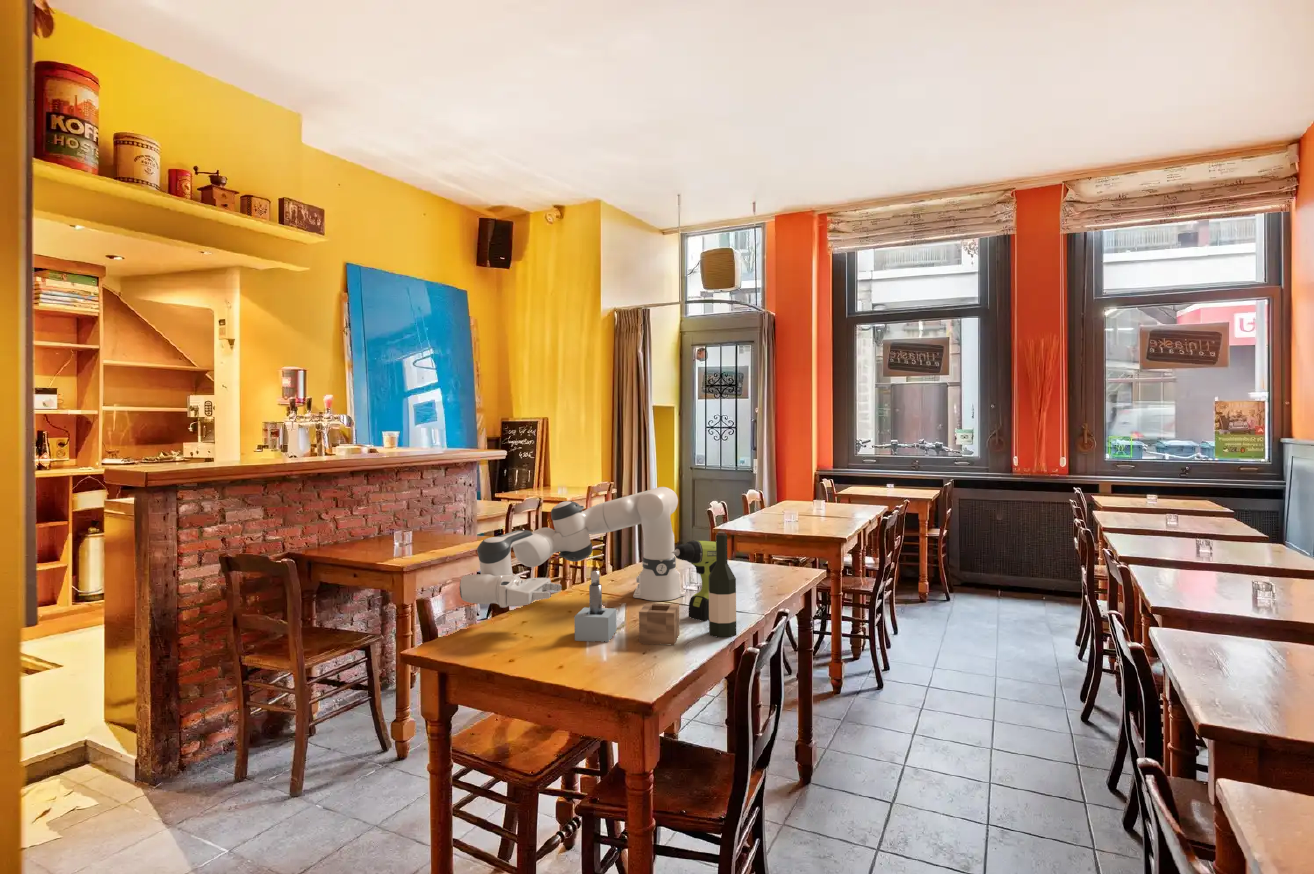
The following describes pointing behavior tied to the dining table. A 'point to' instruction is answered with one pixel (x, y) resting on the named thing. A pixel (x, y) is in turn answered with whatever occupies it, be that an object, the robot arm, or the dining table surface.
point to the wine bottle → (722, 593)
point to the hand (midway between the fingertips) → (555, 591)
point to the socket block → (595, 625)
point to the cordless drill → (704, 561)
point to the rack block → (659, 623)
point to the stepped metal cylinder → (595, 594)
